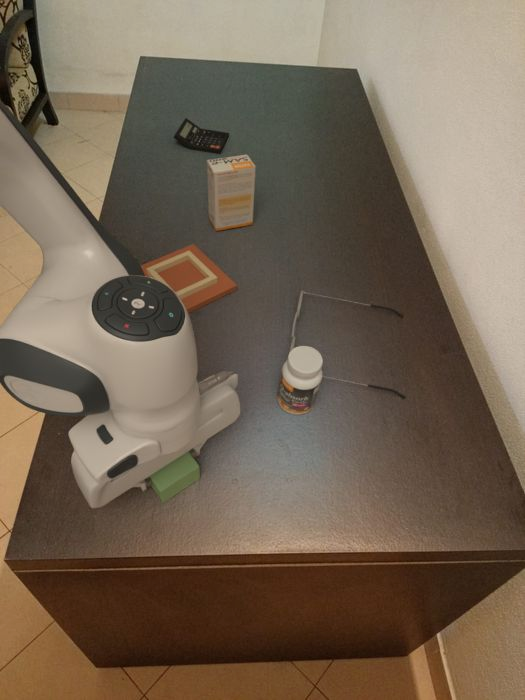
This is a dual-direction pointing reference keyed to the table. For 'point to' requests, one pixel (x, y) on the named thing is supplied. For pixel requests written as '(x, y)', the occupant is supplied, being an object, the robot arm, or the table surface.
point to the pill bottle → (300, 380)
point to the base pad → (190, 277)
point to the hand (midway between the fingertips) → (168, 468)
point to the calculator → (201, 138)
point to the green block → (175, 477)
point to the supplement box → (231, 191)
